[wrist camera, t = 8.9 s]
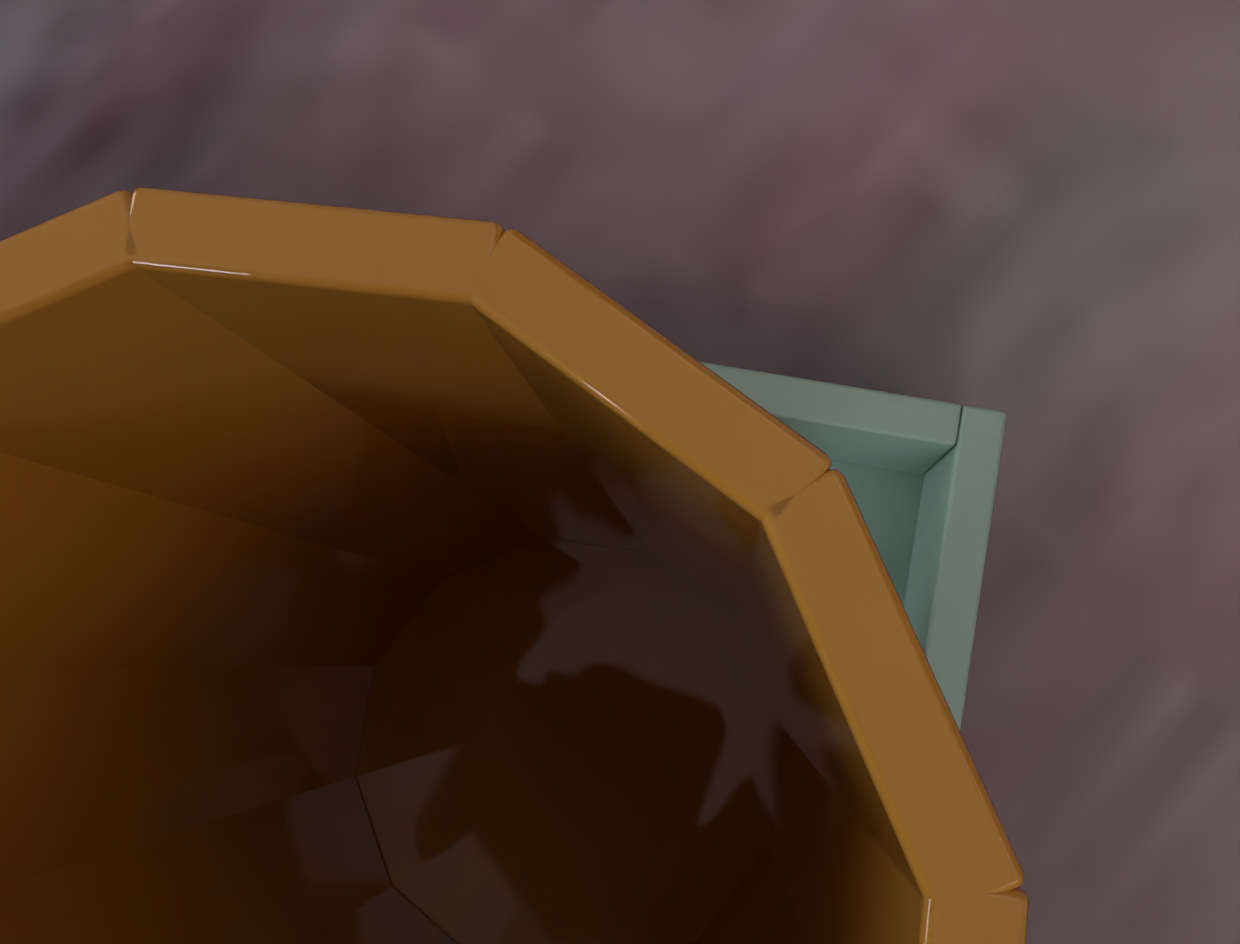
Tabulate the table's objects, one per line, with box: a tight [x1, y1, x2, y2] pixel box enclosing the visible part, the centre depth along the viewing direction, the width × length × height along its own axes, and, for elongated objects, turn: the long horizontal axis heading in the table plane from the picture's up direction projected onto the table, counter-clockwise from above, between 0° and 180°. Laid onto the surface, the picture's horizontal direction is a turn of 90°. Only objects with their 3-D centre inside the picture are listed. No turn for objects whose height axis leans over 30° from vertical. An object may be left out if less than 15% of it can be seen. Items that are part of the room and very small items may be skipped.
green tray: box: [701, 362, 1006, 730], centre depth 19 cm, size 21×12×4 cm, turn 79°
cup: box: [0, 187, 1029, 944], centre depth 10 cm, size 7×7×12 cm
